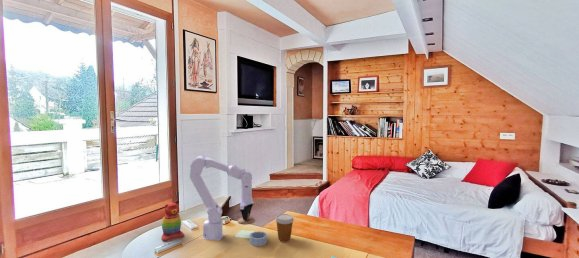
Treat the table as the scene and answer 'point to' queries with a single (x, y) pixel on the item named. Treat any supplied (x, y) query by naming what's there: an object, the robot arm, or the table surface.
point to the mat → (244, 234)
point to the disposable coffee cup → (284, 227)
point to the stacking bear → (171, 223)
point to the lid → (246, 222)
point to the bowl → (258, 238)
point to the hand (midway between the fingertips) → (246, 218)
